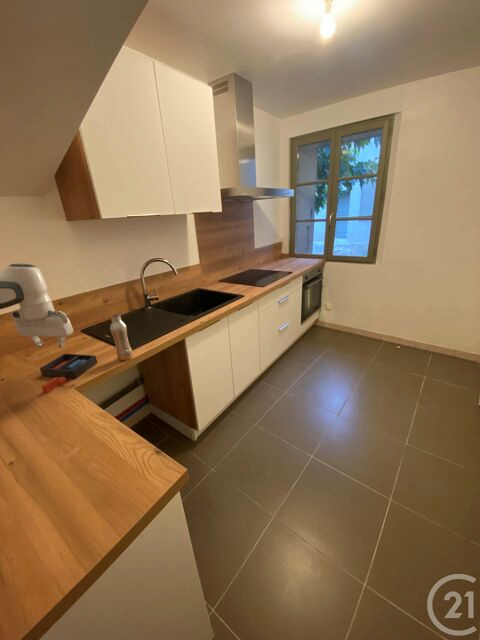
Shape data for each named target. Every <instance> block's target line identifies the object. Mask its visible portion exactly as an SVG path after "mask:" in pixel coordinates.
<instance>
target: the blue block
mask: <svg viewBox="0 0 480 640" xmlns="http://www.w3.org/2000/svg"><path fill="white" fill-rule="evenodd" d="M86 361H87V360H85V359H84V360H77V361H75V362H74V363H72V364H71V365H69V366H68V367H67V368H68V370H74V369H75V368H77V367H78V366H80V365H81V364H83V363H84V362H86Z"/></svg>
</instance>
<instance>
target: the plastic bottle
mask: <svg viewBox="0 0 480 640" xmlns="http://www.w3.org/2000/svg"><path fill="white" fill-rule="evenodd" d="M110 319H111V324H110V327H109V330H110V332H111V335H112V337H113V340H114V344H115V349H116V350H115V354H116V357H117V359H119V360H121V361H125V360H129V359H131V358H132V356H133V349H132V347H131V345H130V341H129V338H128V328H127V324H126V323H125V322H124V321H123V320H122V317H121V314H119V313H117V314H112V315H111V316H110Z"/></svg>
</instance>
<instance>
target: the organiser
mask: <svg viewBox="0 0 480 640" xmlns="http://www.w3.org/2000/svg"><path fill="white" fill-rule="evenodd" d="M84 359H85V360H87V361H86V362H84V363H83V364H81V365H80V366H78V367H77V368H75V369H74V370H68V368H67V367H68V366H69V365H71V364H72V363H74V362H75V361H77V360H84ZM97 364H98V360H97V357H96V355H91V354H78V353H77V354H76V353H63V354H61V355H60V356H58V357H56V358H55V359H53V360H50V361H49V362H48V363H46V364H44V365H43V366H40V368H39V371H40V373H41V376H43V377H49V376H50V378H55V377H57V378H58V377H65V378H66V379H69V380H71V379H72V380H76V379H78V378H79V377H80V376H82V375H83V374H85V373H86V372H87V371H88V370H90V369H92V368H93V367H94V366H95V365H97Z"/></svg>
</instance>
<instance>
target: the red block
mask: <svg viewBox="0 0 480 640" xmlns="http://www.w3.org/2000/svg"><path fill="white" fill-rule="evenodd" d="M66 383H67V378H65V377H52V379H50V380H49V381H47V382H46V383H44V384H43V385H41V388H42V391H43V393H44V394H49V393H50V392H52V391H53V390H54V389H56V388H58V387H59V386H62V385H65V384H66Z"/></svg>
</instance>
